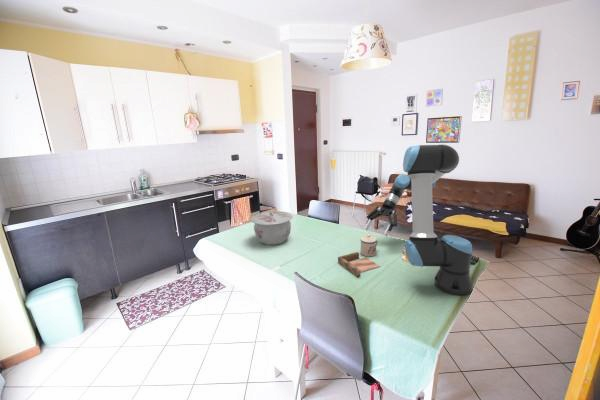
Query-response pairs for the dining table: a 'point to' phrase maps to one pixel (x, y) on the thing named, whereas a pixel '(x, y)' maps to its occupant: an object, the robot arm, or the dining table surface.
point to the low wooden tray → (356, 263)
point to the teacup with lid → (368, 245)
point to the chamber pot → (272, 227)
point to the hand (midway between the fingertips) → (375, 232)
